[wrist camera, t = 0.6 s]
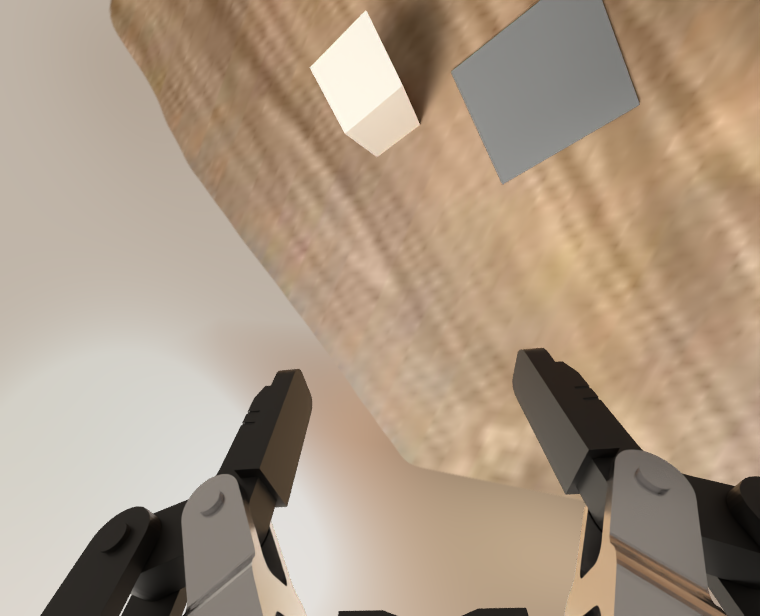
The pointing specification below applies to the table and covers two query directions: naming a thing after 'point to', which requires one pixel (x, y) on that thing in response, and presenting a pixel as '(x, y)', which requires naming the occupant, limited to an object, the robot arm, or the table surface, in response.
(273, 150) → the table surface
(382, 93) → the cover
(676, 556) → the robot arm
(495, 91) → the mat
